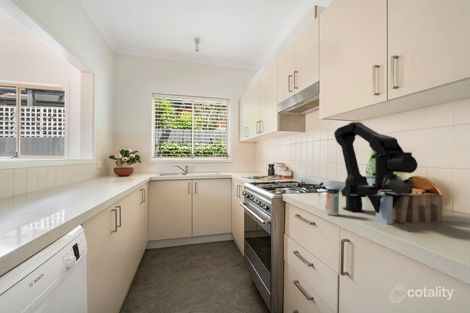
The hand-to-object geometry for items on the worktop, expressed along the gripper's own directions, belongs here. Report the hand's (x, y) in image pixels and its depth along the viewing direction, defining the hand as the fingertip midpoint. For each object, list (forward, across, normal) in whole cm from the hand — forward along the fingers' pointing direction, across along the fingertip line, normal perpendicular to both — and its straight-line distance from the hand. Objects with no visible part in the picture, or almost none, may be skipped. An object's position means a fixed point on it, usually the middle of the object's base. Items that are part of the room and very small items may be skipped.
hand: (383, 212), depth 80 cm
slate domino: (+4, 0, 0) cm, 4 cm away
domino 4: (+4, +22, 0) cm, 22 cm away
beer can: (+4, -13, +12) cm, 18 cm away
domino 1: (+3, +6, 0) cm, 6 cm away
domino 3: (+4, +16, 0) cm, 17 cm away
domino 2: (+4, +11, 0) cm, 12 cm away
